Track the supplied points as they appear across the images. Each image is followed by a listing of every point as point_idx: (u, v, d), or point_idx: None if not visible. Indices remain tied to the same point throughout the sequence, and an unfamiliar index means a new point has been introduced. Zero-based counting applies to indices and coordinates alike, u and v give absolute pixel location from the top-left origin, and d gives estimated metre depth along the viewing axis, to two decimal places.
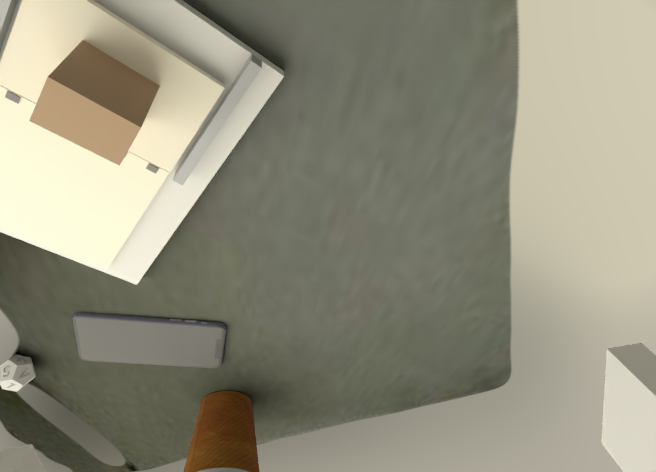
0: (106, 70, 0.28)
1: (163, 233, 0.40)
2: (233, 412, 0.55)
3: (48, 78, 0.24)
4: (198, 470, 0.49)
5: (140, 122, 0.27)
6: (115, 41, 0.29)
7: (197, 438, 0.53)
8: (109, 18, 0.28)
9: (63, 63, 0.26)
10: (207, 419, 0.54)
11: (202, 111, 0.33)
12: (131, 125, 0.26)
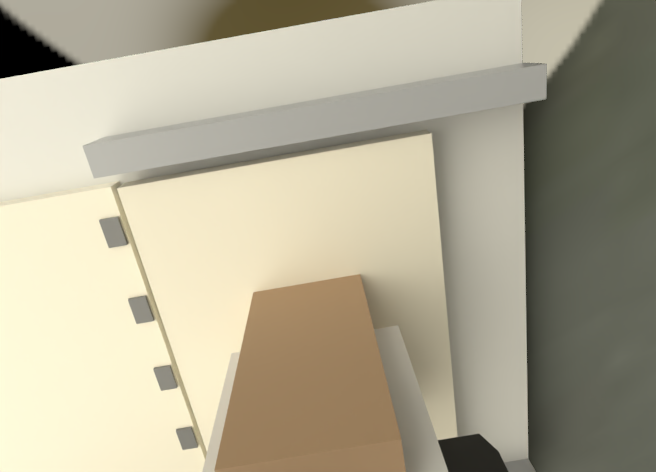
0: None
1: None
2: None
3: (397, 443, 0.07)
4: None
5: None
6: (403, 317, 0.14)
7: None
8: (438, 286, 0.13)
9: (381, 363, 0.09)
10: None
11: None
12: None
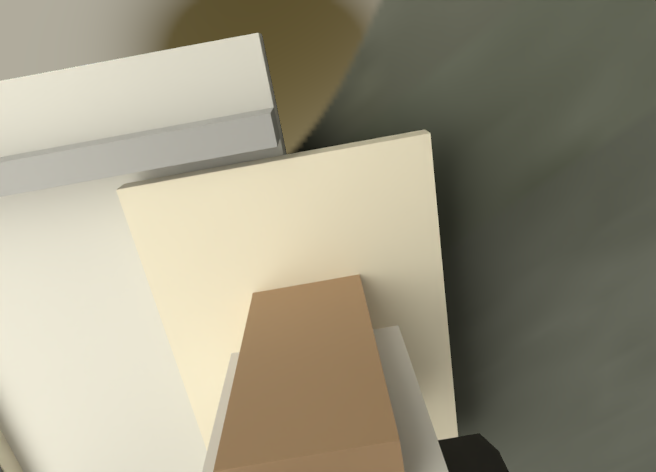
0: None
1: None
2: None
3: (395, 443, 0.07)
4: None
5: None
6: (403, 317, 0.14)
7: None
8: (437, 286, 0.13)
9: (380, 364, 0.09)
10: None
11: None
12: None
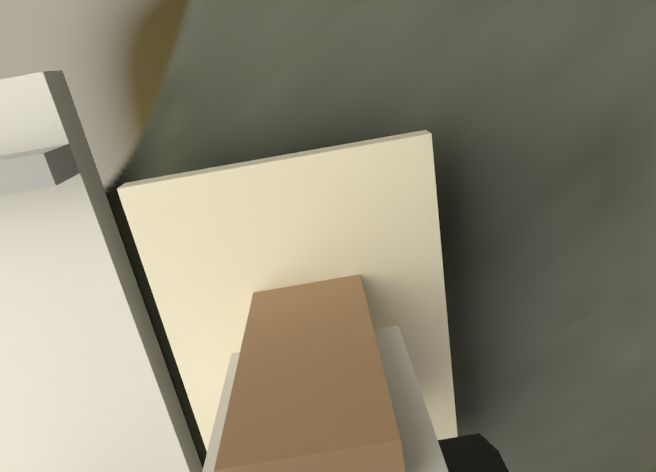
0: None
1: None
2: None
3: (396, 443, 0.07)
4: None
5: None
6: (403, 317, 0.14)
7: None
8: (438, 287, 0.13)
9: (381, 363, 0.09)
10: None
11: None
12: None
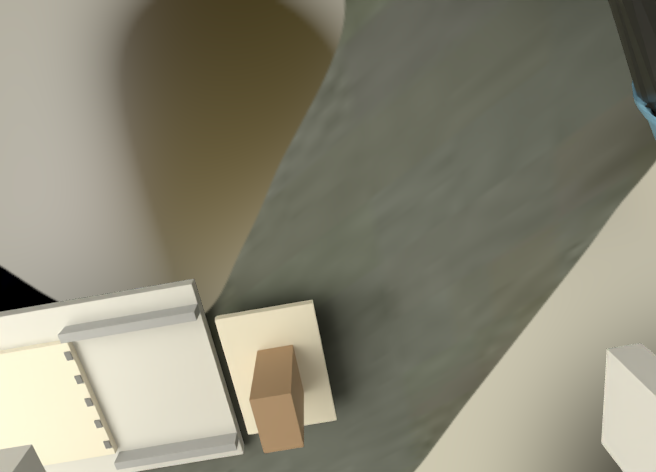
0: (297, 380, 0.38)
1: None
2: None
3: (290, 394, 0.33)
4: None
5: (303, 439, 0.36)
6: (309, 358, 0.40)
7: None
8: (319, 348, 0.39)
9: (291, 375, 0.35)
10: None
11: (310, 420, 0.42)
12: (299, 442, 0.35)
